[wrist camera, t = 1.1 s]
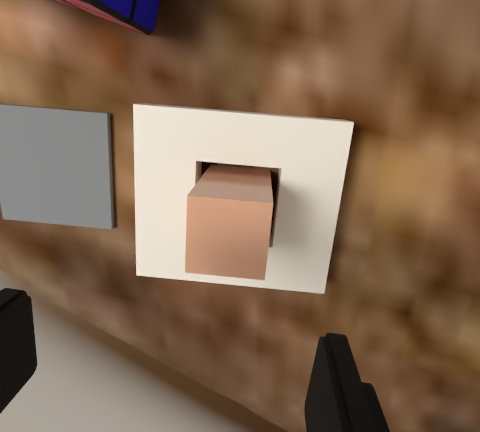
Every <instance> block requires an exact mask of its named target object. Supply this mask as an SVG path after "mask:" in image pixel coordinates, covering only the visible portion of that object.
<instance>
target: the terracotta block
mask: <svg viewBox="0 0 480 432" xmlns="http://www.w3.org/2000/svg"><path fill="white" fill-rule="evenodd" d="M272 211H273V195H272V185H271V175H270V170H269V169H258V168H246V167H235V166H224V165H212V164H211V165H210V166H209V167H208V169H207V170H206V171H205V173H204V174H203V175H202V177H201V178H200V179H199V181H198V182H197V183H196V185H195V186H194V187H193V189H192V190H191V191H190V192H189V194H188V195H187V219H186V252H185V273H194V274H205V275H215V276H225V277H235V278H246V279H256V280H265V274H266V265H267V256H268V247H269V238H270V229H271V220H272Z"/></svg>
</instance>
